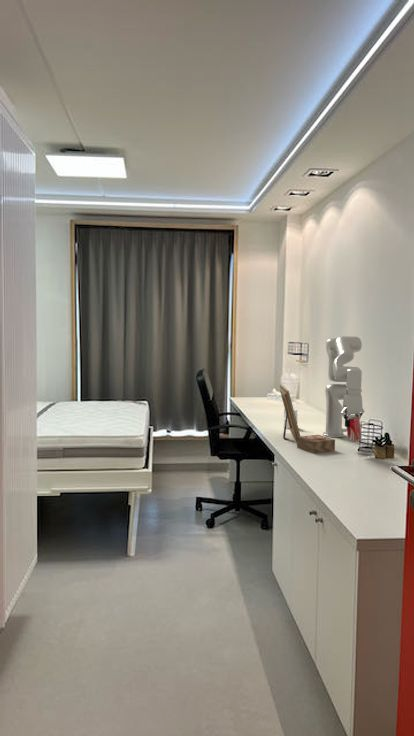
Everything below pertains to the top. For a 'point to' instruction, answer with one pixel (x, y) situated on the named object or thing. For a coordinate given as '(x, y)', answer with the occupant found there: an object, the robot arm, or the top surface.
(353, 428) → the soda can
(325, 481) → the top surface
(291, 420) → the picture frame
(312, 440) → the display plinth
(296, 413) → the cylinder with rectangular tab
